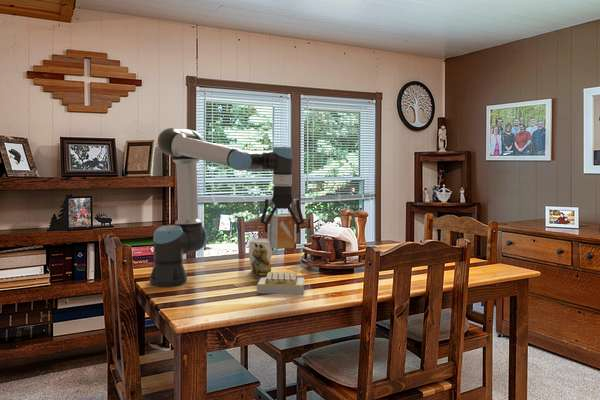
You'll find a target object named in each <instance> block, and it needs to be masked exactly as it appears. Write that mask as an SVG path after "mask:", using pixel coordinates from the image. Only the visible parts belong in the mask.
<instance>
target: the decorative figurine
mask: <svg viewBox="0 0 600 400" xmlns="http://www.w3.org/2000/svg"><path fill="white" fill-rule="evenodd" d="M255 247H256V248H254V251H253V253H252V255H253V256H254V258H256V260H254V261H253V262H252V266H253V269H252V268H251V269H252V270H253V271H252V272H251V274H253V277H254V278H257V279H259V280H260V278H261V277H267V275H268V272H272V266H271V261H270V262H269V260H268V259H267V250H266V249H265V246H264V245H263V244H260V245H258V244H257V243H255Z"/></svg>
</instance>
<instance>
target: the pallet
mask: <svg viewBox="0 0 600 400" xmlns="http://www.w3.org/2000/svg"><path fill="white" fill-rule="evenodd" d="M297 278H298V275H297V272H290V271H289V272H283V271H280V272H278V271H275V272H273V271H271V272H268V275H267V277H266V281H265V284H296V280H297Z"/></svg>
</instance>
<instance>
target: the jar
mask: <svg viewBox="0 0 600 400" xmlns="http://www.w3.org/2000/svg"><path fill="white" fill-rule="evenodd" d="M248 242H249V247H248V257H249V264H250V267H251V269H250V272H251V273H252V271H253V270H252V269H253V266H252V262H253V261H254V260H256V258H254V256H253V255H252V253H253V251H254V248H256V247H255V243H257V244H258V245H260V244H263V245H264V246H265V249H266V250H267V259H268V260H269V262H270V263H271V262H272V259H271V258H272V255H273V252H272V248H271V247H270V241H268V238H263V237H262V238H261V237H260V238H258V237H257V238H250V239H249V240H248Z"/></svg>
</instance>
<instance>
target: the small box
mask: <svg viewBox="0 0 600 400" xmlns="http://www.w3.org/2000/svg"><path fill="white" fill-rule="evenodd" d="M269 224H270V247H271V249H272V248H273V249H275V250H285V249H294V248H295V242H294V225H296V223H295V221H294V219H293V218H292V216H291V214H288V213H287V214H273V216H272V217H271V219H270V221H269Z"/></svg>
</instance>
